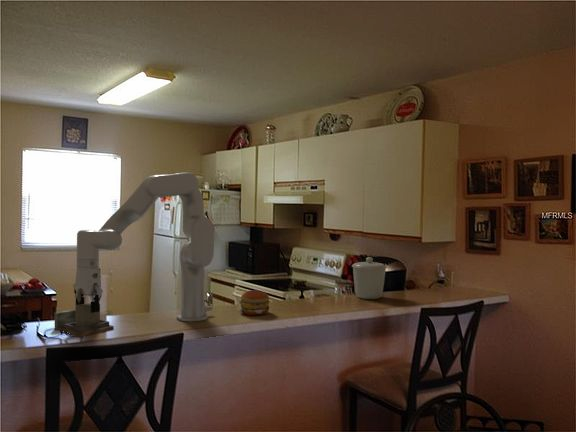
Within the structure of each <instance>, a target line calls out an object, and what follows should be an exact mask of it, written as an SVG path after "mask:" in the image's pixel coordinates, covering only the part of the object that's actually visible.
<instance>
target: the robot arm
mask: <svg viewBox="0 0 576 432" xmlns="http://www.w3.org/2000/svg"><path fill="white" fill-rule="evenodd" d="M175 196H176V197H177V196H178V197H179V198H180V200H181V204H182V232H183V235H185V237H187V238H190V241H187V242H186V243H184V244H183V246H182V247H181V249H180V252H179V259H180V271H181V274H180V275H181V278H180V280H181V281H180V283H181V285H180V286H181V287H180V289H181V290H180V313H178V314H177V315H176V319H177V320H179V321H180V322H181V321H183V322H200V321H204V320H207V319H208V318H209V314H208V313H207V312H211V311H212V310H213V306H212V305H210V306H209V305H208V306H206V305H205V290H206V289H205V288H206V287H205V286H206V284H205V283H206V273H205V268H206V267H208V266H209V265H210V264H211V263H212V262H213V259H214V254H215V253H214V252H215V229H214V225H213V223H212V221H211V219H210V218H208V217H206V216H205V209H204V208H205V207H204V205H205V203H204V198H203V194H202V193H201V191H200V189H199V178H198V177H197V176H196V175H195V174H193V172H192V173H191V172H187V171H186V172H178V173H171V174H155V175H149V176H147V177H146V178H145V179H143V180H142V182H141V183H140V184H139V186H138V187H137V188H136V189H135V190H134V192H133V193H132V194H131V195H130V196H129V198H127V200H126V201H125V202H124V203H123V204H121V206H120V207H118V209H117V210H116V211H114V213H113V214H112V215H111V216H110V217H109V218H108V219H107V220H106V221H105V223H104V224H103V225H102V226H101V228H100V229H99V230H95V229H81V230H78V231H77V233H76V271H75V283H74V284H72V287H73V292H74V298H75V305H79V304H85V296H88V297H90V300H91V301H90V303H91V313H93V312H99V304H100V301H101V298H102V294H103V289H102V277H101V276H102V275H101V270H100V266H99V265H100V262H99V261H100V259H99V257H100V254H99V253H100V250H105V251H106V250H107V251H113V250H116V249H119V248H120V246H121V245H122V244H123V237H122V234H123V232H124V231H125V230H126V229H128V227H129V226H130V225H133V223H135V222H137V221H140V219H142V218H143V217H144V216H145V215H146V214H147V212H148V211H149V210H150V208H151V207H152V206H153V205H154V204H155V203H156V202H157V200H158V199H159V198H169V197H175ZM79 288H81V289H82V291H81V301H80V303H78V300H77V291H78V289H79ZM95 295H96V296H95Z"/></svg>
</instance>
